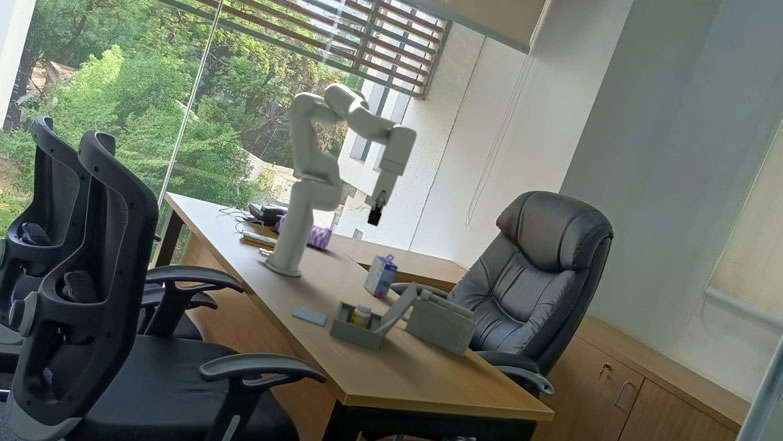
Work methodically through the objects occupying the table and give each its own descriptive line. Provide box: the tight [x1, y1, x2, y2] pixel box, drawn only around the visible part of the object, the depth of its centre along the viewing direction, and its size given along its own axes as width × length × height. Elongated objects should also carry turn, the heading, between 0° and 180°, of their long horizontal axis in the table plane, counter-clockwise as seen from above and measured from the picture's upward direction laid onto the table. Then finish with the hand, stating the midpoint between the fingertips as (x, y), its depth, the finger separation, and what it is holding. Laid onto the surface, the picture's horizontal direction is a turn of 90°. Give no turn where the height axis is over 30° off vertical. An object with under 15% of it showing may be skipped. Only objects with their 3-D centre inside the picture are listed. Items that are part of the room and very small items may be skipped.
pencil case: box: [274, 210, 334, 250], centre depth 271 cm, size 22×9×10 cm, turn 82°
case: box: [329, 281, 418, 352], centre depth 186 cm, size 19×18×17 cm
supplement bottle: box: [349, 301, 373, 329], centre depth 187 cm, size 5×5×8 cm
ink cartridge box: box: [362, 253, 398, 300], centre depth 235 cm, size 10×6×14 cm, turn 26°
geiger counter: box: [401, 288, 478, 358], centre depth 204 cm, size 14×6×25 cm
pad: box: [291, 304, 327, 327], centre depth 187 cm, size 9×9×1 cm
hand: (372, 222), depth 198 cm, fingers open, 9 cm apart
